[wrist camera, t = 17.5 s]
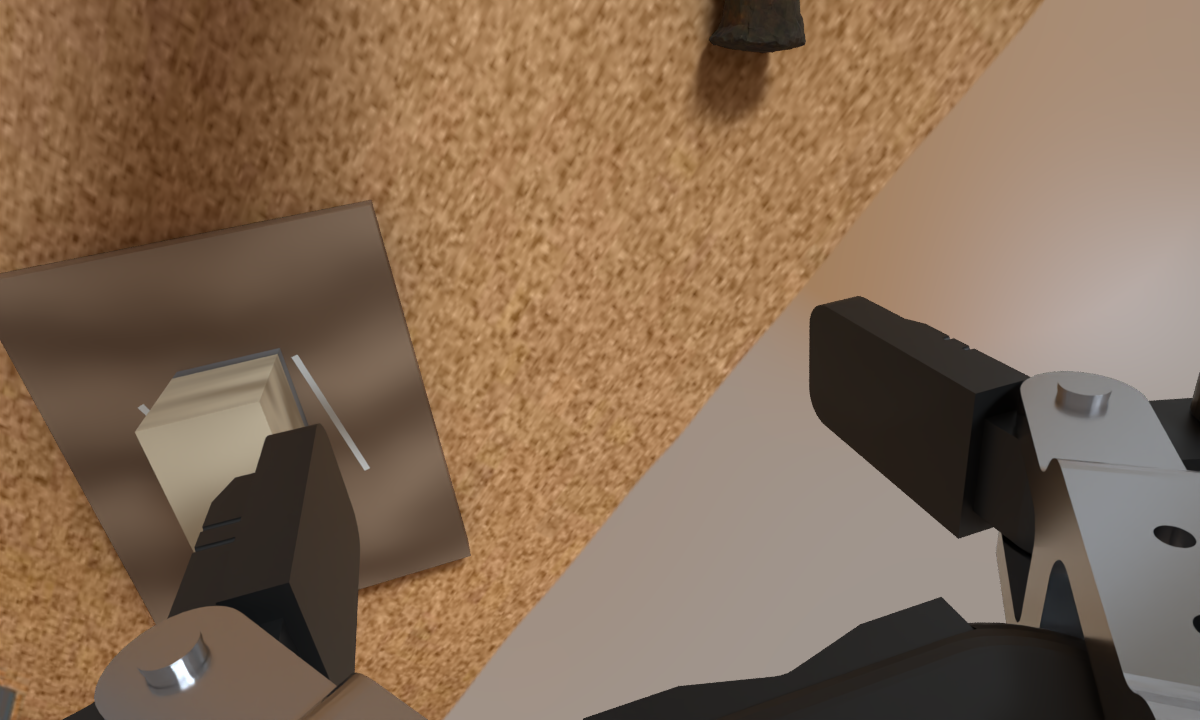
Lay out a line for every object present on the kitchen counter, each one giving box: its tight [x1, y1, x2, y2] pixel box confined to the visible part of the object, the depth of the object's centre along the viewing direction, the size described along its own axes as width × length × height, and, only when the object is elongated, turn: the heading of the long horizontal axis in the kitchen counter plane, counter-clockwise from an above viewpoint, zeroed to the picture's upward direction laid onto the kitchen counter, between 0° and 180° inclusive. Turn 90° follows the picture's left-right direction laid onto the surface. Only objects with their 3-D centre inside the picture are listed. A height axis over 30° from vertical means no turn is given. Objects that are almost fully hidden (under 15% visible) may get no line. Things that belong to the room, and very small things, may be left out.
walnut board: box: [0, 200, 471, 624], centre depth 35 cm, size 20×16×2 cm
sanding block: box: [135, 348, 309, 552], centre depth 31 cm, size 9×4×6 cm, turn 9°
